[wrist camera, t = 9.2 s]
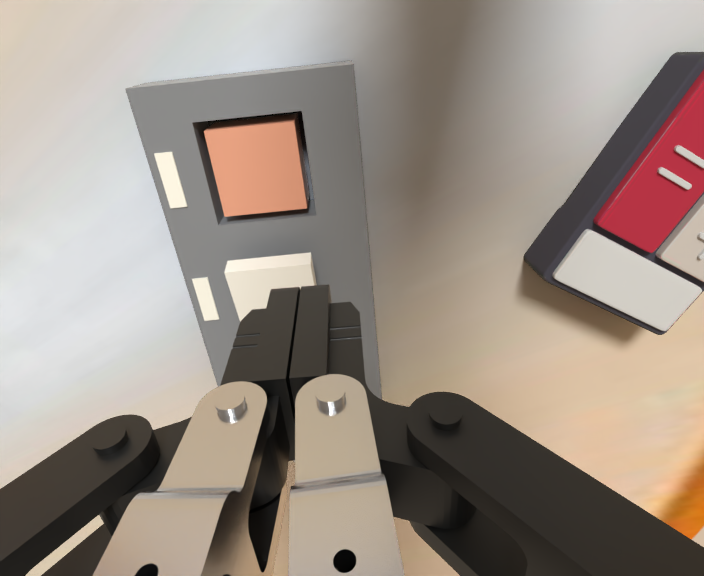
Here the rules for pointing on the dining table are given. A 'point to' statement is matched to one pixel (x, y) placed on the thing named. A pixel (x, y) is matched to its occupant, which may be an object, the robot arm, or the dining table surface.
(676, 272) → the calculator
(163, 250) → the dining table surface
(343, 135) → the panel
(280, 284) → the white slab
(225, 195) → the push button
